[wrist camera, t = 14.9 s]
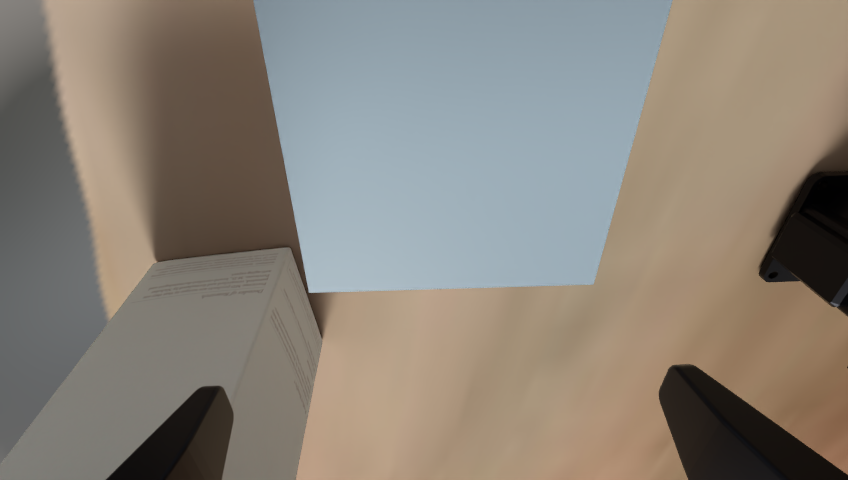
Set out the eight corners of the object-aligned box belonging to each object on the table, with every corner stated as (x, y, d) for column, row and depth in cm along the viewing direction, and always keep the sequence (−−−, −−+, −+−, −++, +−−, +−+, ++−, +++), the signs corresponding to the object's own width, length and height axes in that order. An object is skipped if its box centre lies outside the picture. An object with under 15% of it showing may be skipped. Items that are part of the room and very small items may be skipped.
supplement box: (150, 258, 22) (-71, 532, 12) (293, 243, 22) (198, 506, 12) (204, 356, 26) (76, 624, 16) (325, 344, 26) (276, 605, 16)
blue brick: (535, 183, 11) (593, 284, 8) (336, 187, 11) (308, 293, 8) (572, -55, 8) (687, -56, 5) (307, -55, 8) (243, -57, 5)
